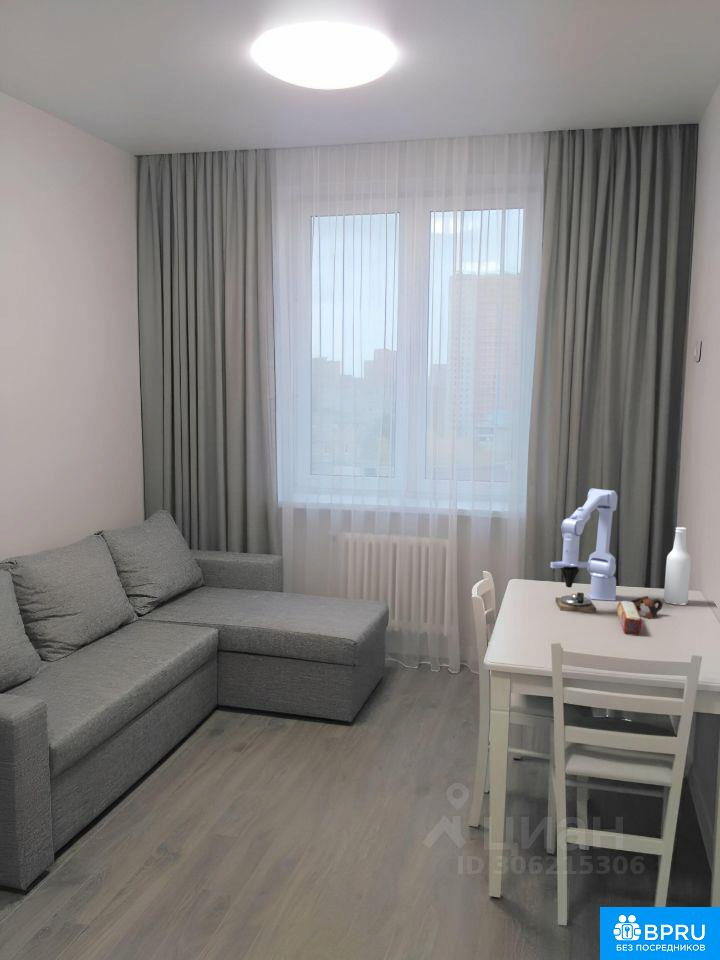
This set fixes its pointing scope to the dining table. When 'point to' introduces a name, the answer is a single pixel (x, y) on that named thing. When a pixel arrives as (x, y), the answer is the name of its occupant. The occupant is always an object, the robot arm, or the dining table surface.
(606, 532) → the robot arm
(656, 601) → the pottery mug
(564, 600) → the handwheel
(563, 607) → the walnut base
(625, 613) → the snack package
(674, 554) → the alcohol
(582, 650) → the dining table surface
